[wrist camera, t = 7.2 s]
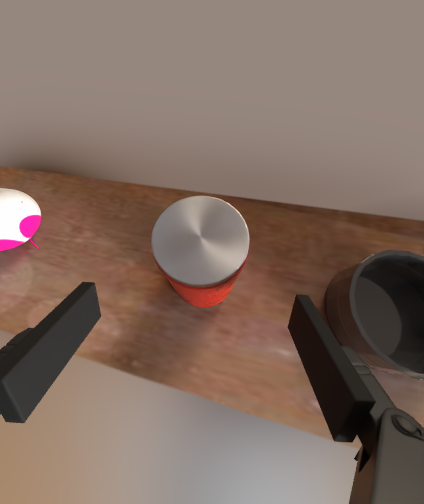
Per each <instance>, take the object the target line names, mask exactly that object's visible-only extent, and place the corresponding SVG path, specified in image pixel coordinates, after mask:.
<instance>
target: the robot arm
mask: <svg viewBox="0 0 424 504" xmlns="http://www.w3.org/2000/svg"><path fill="white" fill-rule="evenodd" d="M100 317H101V313H100V307H99V302H98V297H97V292H96V287H95V283H92V282H82V283H81V284H80V285H79V286H78V287H77V288H76V289H75V290H74V291H73V292H72V293H71V294H70V295H68V296H67V297H66V298H65V299H64V300H63V301H62V302H61V303H60V304H59V305H58V306H57V307H56V308H55V309H54V310H53V311H52V312H50V313H49V314H48V315H47V316H46V317H45V318H44V319H43V320H42V321H41V322H40V323H39V324H38V325H37V326H36V327H35V328H28V329H26V330H24V331H23V332H21V333H19V334H17V335H16V336H15V337H14V338H13V339H11V340H10V341H9V342H8V343H7V345H6V346H4V347H3V348H1V349H0V414H2V416H3V418H4V419H5V421H6V422H13V423H24V422H25V421H26V420H27V418H28V417H29V416H30V414H31V413H32V411H33V410H34V409H35V407H36V406H37V404H38V403H39V402H40V400H41V399H42V397H43V396H44V395H45V393H46V392H47V391H48V389H49V388H50V386H51V385H52V384H53V382H54V381H55V380H56V378H57V376H58V375H59V374H60V373H61V371H62V370H63V368H64V367H65V366H66V364H67V363H68V361H69V360H70V358H71V357H72V356H73V355H74V353H75V352H76V350H77V349H78V348H79V346H80V345H81V343H82V342H83V341H84V339H85V338H86V337H87V335H88V334H89V332H90V331H91V330H92V328H93V327H94V325H95V324H96V323H97V321H98V320H99V318H100ZM288 329H289V331H290V334H291V336H292V339H293V341H294V344H295V346H296V349H297V351H298V353H299V356H300V358H301V361H302V363H303V366H304V368H305V371H306V373H307V376H308V378H309V381H310V383H311V385H312V388H313V390H314V393H315V395H316V398H317V400H318V403H319V405H320V408H321V410H322V413H323V415H324V417H325V420H326V422H327V425H328V427H329V430H330V432H331V435H332V437H333V440H334V441H336V442H353V440H354V439H355V437H356V435H358V437H359V439H360V441H361V443H362V446H361V448H360V450H359V451H358V453H357V455H356V456H355V458H354V459H355V460H356V461H358V462H357V467H356V472H355V476H354V481H353V487H352V492H351V496H350V501H349V504H424V428H423V427H422V426H421V425H420V424H419V423H418V422H417V421H416V420H415V419H414V418H413V417H411V416H410V415H409V414H407V413H406V412H404V411H402V410H400V409H397V407H396V406H395V405H394V404H393V402H392V401H391V399H390V398H389V396H388V395H387V394H386V392H385V391H384V389H383V388H382V387H381V385H380V384H379V382H378V381H377V379H376V378H375V377H374V375H372V372H371V371H370V370H369V368H368V367H367V366H366V364H365V362H364V361H363V360H362V358H361V357H360V355H359V354H358V353H356V352H355V351H354V350H353V349H352V348H351V347H350V346H340V344H339V343H338V341H337V340H336V338H335V337H334V335H333V334H332V332H331V330H330V329H329V327H328V326H327V324H326V323H325V321H324V319H323V318H322V316H321V315H320V313H319V312H318V310H317V309H316V307H315V305H314V304H313V302H312V301H311V299H310V298H309V296H308V295H296V297H295V301H294V305H293V309H292V313H291V317H290V321H289V324H288Z"/></svg>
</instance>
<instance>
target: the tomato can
mask: <svg viewBox="0 0 424 504" xmlns="http://www.w3.org/2000/svg"><path fill="white" fill-rule="evenodd" d="M249 244H250V237H249V231H248V227H247V225H246V222H245V221H244V219H243V217H242V216H241V214H240V213H239V212H238V211H237V210H236V209H235V208H234V207H233V206H231V205H230V204H228V203H227V202H225V201H223V200H221V199H218V198H215V197H210V196H192V197H187V198H184V199H181V200H179V201H177V202H175V203H173V204H172V205H170V206H169V207H168V208H166V209H165V210H164V211H163V212H162V214H161V215H160V216H159V218H158V219H157V221H156V223H155V225H154V228H153V232H152V238H151V246H152V251H153V255H154V258H155V261H156V263H157V265H158V267H159V269H160V270H161V272H162V273H163V274H164V276H165V277H166V278H167V280H168V281H169V282H170V284H171V285H172V286H173V288H174V289H175V290H176V292H177V293H178V294H179V296H180V297H181V298H182V299H183V300H184V301H185V302H187V303H189V304H190V305H193V306H196V307H210V306H214V305H216V304H218V303H220V302H221V301H222V300H224V299H225V298H226V297H227V295H228V294H229V292H230V290H231V288H232V287H233V285H234V283H235V281H236V279H237V277H238V275H239V273H240V271H241V270H242V268H243V266H244V264H245V262H246V259H247V256H248V252H249Z"/></svg>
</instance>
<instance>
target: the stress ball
mask: <svg viewBox="0 0 424 504" xmlns="http://www.w3.org/2000/svg"><path fill="white" fill-rule="evenodd" d="M40 222H41V212H40V208H39V206H38V204H37V203H36V202H35V200H34V199H33V198H31V197H30V196H29V195H27V194H25V193H23V192H21V191H18V190H13V189H5V188H0V251H3V250H8V249H12V248H14V247H17V246H19V245H21V244H23V243H24V242H26V241H27V240H29V241H30V242H31V243H32V244H33V245H34V246H35V247H37V246H36V245H35V243H34V242H33V241H32V240H31V237H32V236H33V235H34V234H35V232H36V231H37V229H38V227H39V225H40ZM37 248H38V247H37Z"/></svg>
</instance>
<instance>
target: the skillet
mask: <svg viewBox="0 0 424 504" xmlns="http://www.w3.org/2000/svg"><path fill="white" fill-rule="evenodd" d="M325 308H326V315H327V319H328V322H329V325H330V327H331V330H332V332H333V333H334V335H335V337H336V339H337V340H338V341H339V343H340V344H341V345H342V346H350V347H351V348H352V349H353V350H354V351H355V352H356V353H358V354H359V355H360V357H361V358H362V360H363V361H364V362H365V364H366V365H367V366H369V367H371V368H374V369H377V370H380V371H383V372H386V373H391V374H395V375H400V376H405V377H409V378H414V379H418V380H424V257H423V256H420V255H417V254H415V253H412V252H409V251H399V250H387V251H383V252H378V253H374V254H372V255H370V256H368V257H366V258H364V259H362V260H359V261H357V262H355V263H353V264H351V265H349V266H348V267H346V268H344V269H343V270H341V271H340V272H339V273H337V274H336V275H335V277H334V278H333V279H332V281H331V282H330V284H329V286H328V289H327V293H326V299H325Z"/></svg>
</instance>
